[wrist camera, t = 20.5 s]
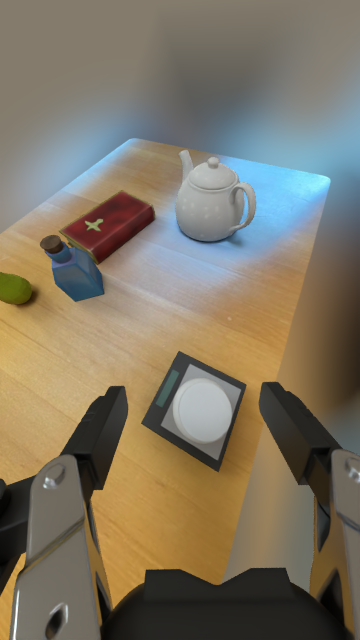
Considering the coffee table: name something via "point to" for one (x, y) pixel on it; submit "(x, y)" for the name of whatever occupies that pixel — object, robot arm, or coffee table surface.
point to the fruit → (14, 289)
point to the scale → (162, 408)
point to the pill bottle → (202, 410)
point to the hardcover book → (109, 225)
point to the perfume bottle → (73, 269)
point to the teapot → (211, 200)
